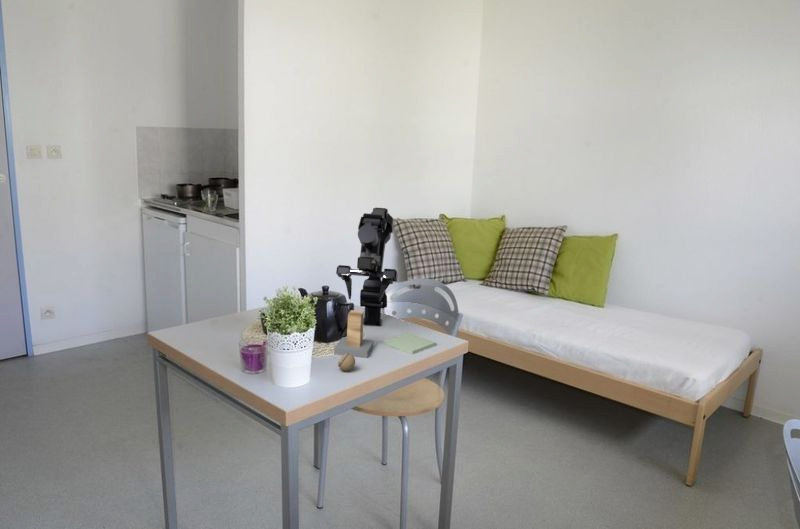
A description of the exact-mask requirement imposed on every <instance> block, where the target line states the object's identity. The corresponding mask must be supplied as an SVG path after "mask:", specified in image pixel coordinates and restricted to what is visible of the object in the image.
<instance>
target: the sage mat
mask: <svg viewBox="0 0 800 529" xmlns="http://www.w3.org/2000/svg"><path fill="white" fill-rule="evenodd" d="M382 342H383V343H382V344H383V345H385V346H388V347H392V348H393V347H394V348H393V349H396V350H400V351H402V352H405V353H408V354H411V355H414V354H417V353H419V351H420V352H422V351H425V350H427V348H428V349H429V348H433V347H436V346H437V342H436V341H433V340H430V339H427V338H425V337H422V336H417V335H415V334H412V333H408V332H405V333H403V334H400V335H397V336H394V337H391V338H387V339H384V340H383V341H382ZM435 345H436V346H435ZM432 346H433V347H432ZM424 349H425V350H424Z"/></svg>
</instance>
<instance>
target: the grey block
mask: <svg viewBox="0 0 800 529" xmlns="http://www.w3.org/2000/svg"><path fill="white" fill-rule="evenodd" d="M374 344H375V341H374V340H372V339H364V338H363V340H362V344H361V346H360V347H354V346H347V337H344V336H343V337H341V338H340V340H339V341H338V342H337V344H336V345H335V346H334V349H333V351H334V352H333V354H334V355H336V354H337V355H338V356H343V355H344V354H346V353H349V354H351V355H353V356H354V358H355V357H356V358H363V359H364V358H365V359H367V358H369V355H370V354H371V352H372V350H373V348H374Z"/></svg>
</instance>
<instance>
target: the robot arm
mask: <svg viewBox="0 0 800 529" xmlns="http://www.w3.org/2000/svg"><path fill="white" fill-rule="evenodd" d="M359 219H360V220H359V223H358V228H357V229H358V231H357V238H358V239H359V243H360V244H361V245H360V255H359V257H357V262H356V263H357V264H356V265H357V266H356V269H354V268H353V269H352V268H351V266H350V265H341V264H339V265H338V266H337V267H336V273H335V274H336V275H337V276H338V278H340V279H341V280H342V281H344V283H345V287H346V291H347V295H348V299H349V300H351V298H352V289H353V287H352V285H353V284H352V283H353V281H352V278H351V277H352V276H358V277H359V276H360V277H367V279H364V281H363V286H362V289H361V290H360V293H359V305H360V306H359V307H361V308H364V318H363V326H377V327H380V326H382V321H383V319H382V318H381V316H382V310H383V309H385V308H387V307H388V295H387V293H386V291H387V289H388V287H389V286H390V285H394V284H393V283H394V282H395V283H396V282H398V278H399V277H398V270H396V269H393V268H384V269H383V266H384V260H385V259H384V257H385V251H386V245H387V243H388V242H389V241H390V240H391V236H392V234H393V233H394V218H393V216H392V215H391V214H390V213H389V210H388V208H385V207H373V209H372V212H371V213H363V215H362V216H361V217H360V218H359Z"/></svg>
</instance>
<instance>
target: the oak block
mask: <svg viewBox="0 0 800 529" xmlns="http://www.w3.org/2000/svg"><path fill="white" fill-rule="evenodd" d="M364 313H365V310H364V311H363V310H362V311H361V310H353V309H351V310H350V311H349V312H348V313H347V330H346V338H347V346H354V347H360V346H361V344H362V340H363V339H364V338H363V335H364V325H363V319H364Z"/></svg>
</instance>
